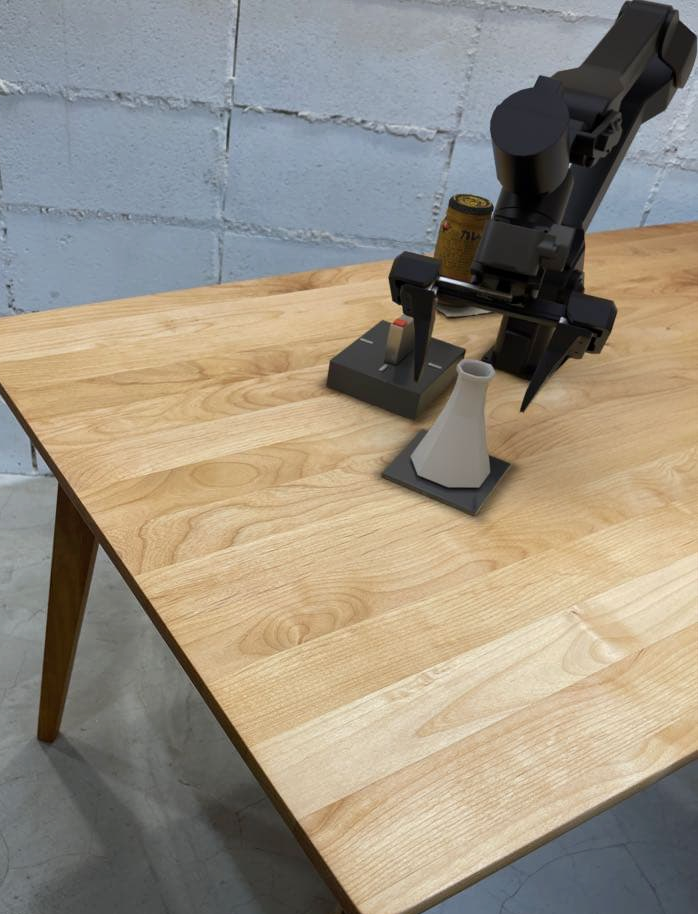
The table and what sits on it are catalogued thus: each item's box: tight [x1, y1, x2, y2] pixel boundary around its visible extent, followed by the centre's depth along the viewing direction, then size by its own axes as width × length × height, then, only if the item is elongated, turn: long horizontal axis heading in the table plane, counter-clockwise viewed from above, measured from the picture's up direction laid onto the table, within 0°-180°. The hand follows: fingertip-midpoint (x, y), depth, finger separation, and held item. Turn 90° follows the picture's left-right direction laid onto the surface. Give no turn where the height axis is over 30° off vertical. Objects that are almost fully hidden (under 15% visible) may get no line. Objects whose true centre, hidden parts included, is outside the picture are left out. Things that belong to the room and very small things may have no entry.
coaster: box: [380, 428, 512, 517], centre depth 76 cm, size 9×9×1 cm
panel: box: [325, 319, 467, 421], centre depth 87 cm, size 12×10×3 cm
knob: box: [384, 313, 415, 365], centre depth 84 cm, size 5×1×4 cm, turn 149°
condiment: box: [432, 193, 495, 318], centre depth 101 cm, size 7×8×12 cm
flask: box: [411, 358, 497, 487], centre depth 72 cm, size 7×7×10 cm
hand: (468, 396), depth 71 cm, fingers open, 9 cm apart
